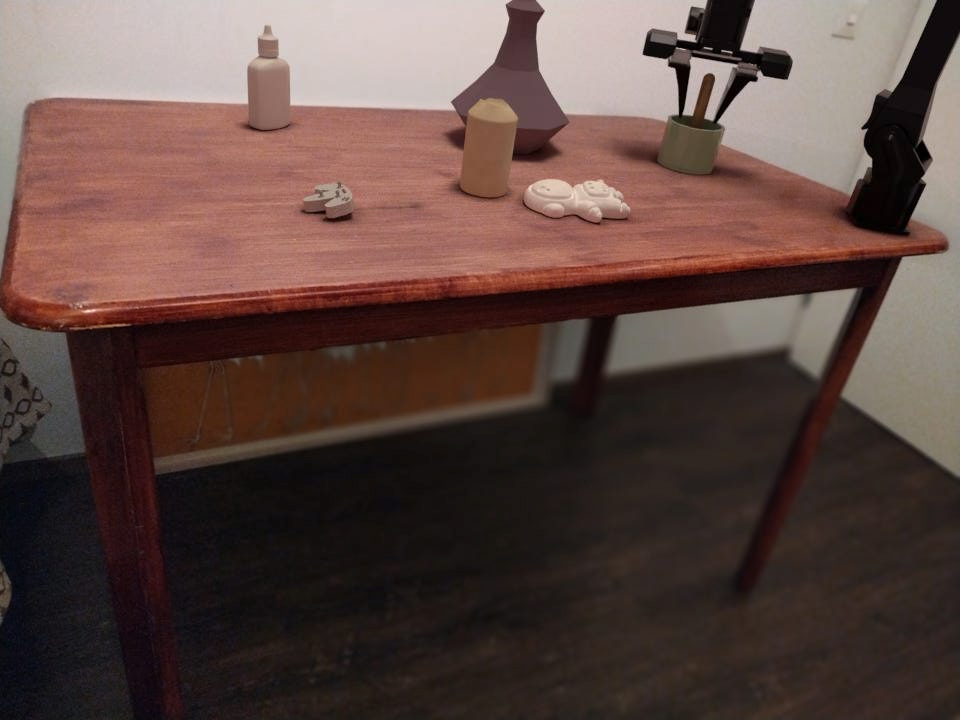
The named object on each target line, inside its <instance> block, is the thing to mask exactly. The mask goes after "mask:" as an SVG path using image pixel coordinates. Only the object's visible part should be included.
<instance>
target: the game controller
mask: <svg viewBox="0 0 960 720" xmlns="http://www.w3.org/2000/svg"><path fill="white" fill-rule="evenodd" d="M313 189H314V194H312V195H309V196H306V197H304V198H302V204H303V208H304V212H305V213H315V212H316V213H317V212H322V211H325V214H326V217H327V219H328V218H329V219H336V218H338V217H342V216H346V215H349V214H350V213H353V212H354V209H355V203H354V199H353V198H354V196H353V192H352V191H351V190H350V188H349V187H347V186H346V185H344V184H342V180H338V181H337V182H332V183H325V184H318V185H315V186H314V188H313ZM368 197H369V195H366V196H365V195H364V196H363V197H362V198H360V199H359V201H361V200H363V199H364V198H368ZM372 197H375V198H379V199H380V197H379V196H375V195H372ZM381 201H382V202H383V203H384V204H387V205H391V203H390V202H389V203H387V202H384V201H383V200H381ZM403 201H405V199H401V200H400V201H398V202H396V203H395V202H394V205H398V204H400V203H401V202H403ZM409 201H411V202H414V203H416V205H415V206H416V207H417V206H418V202H416V201H415V200H411V199H409Z"/></svg>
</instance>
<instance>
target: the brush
mask: <svg viewBox="0 0 960 720" xmlns="http://www.w3.org/2000/svg"><path fill="white" fill-rule="evenodd" d="M715 82H716V76H715V74H714V73H712V72H707V73H705V74H704V75H703V78H702V80H701V83H700V88H699V92H698V95H697V99H696V102H695V106H694V110H693V113H692V120H691V123H690V127H692V128H697V129H701V128H702V124H703V121H704V118H706V113H707V111H708V107H709V103H710V100H711V96H712V93H713V89H714V86H715Z"/></svg>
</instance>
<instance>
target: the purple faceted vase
mask: <svg viewBox="0 0 960 720" xmlns="http://www.w3.org/2000/svg"><path fill="white" fill-rule="evenodd" d="M505 8H506V13H507V16H508V22H507V27H506V31H505V34H504V36H503V39H502V42H501V44H500V47H499V49H498V52H497V54H496V56H495V59H494V62H493V63H492V64H491V65H490V66H489V67H488V68H487V69H486V70H485V71H484V72H483V73H482V74H481V75H480V76H479V77H478V78H477V79H476V80H475V81H474V82H473V83H471V84H470V85H469V86H467V87H466V88H465V89H464V90H463V91H462V92H460V93H459V94H458V95H457V96H456V97H454V98H453V99H452V100H451V101H450V103H451V105H452V106H453V108H454V110H455V111H456V114H457V115H458V117H459V118H460V120H461V122H462V123H463V125H464V126H465V127H466V126H467V117H468V111H469V110H470V109H471V108H472V107H473V106H474V105H475V104H476V103H477V102H478V101H479V100H480V99H483V100H486V99H488V98H493V99H502V100H504V101H505V102H506V103H507V104H508V105H509V106H510V108H511V109H512V110H513V111H514V113H515V114H516V116H517V117H518V122H517V128H516V135H515V141H514V148H513V154H518V155H527V154H530V153H532V152H535V151H537V150H540V149H541V147H542V146H544V145H545V144H546V143H548V142H549V141H550V140H551V139H552V138H553V137H554V136H556V135H557V134H558V133H559V132H560V131H561V130H562V129H564V128H565V127H566V126H567V125H568V124H570V120H569V118H568V117H567V115H566V114H565V113H564V111H563V109H562V108H561V106H560V104H559V103H558V101H557V100H556V99H555V97H554V95H553V94H552V92H551V90H550V88H549V86H548V83H547V82H546V81H545V78H544V77H543V75H542V73H541V71H540V64H539V55H538V54H539V52H538V43H537V34H538V32H537V31H538V23H539V21H540V20H541V19H542V17H543V15H544V14H545V12H546V10H545V9H544V8H543V7H542V5H541V4H540V3H539V2H538V1H537V0H510V1H509V2H507V3H505Z"/></svg>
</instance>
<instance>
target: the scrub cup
mask: <svg viewBox="0 0 960 720" xmlns="http://www.w3.org/2000/svg"><path fill="white" fill-rule="evenodd" d="M692 116H693V114H692V115H691V114H683V115H682V118H679V113H677V114H671V115H668V116H667V118H666V123H665V126H664V130H663V133H662V138H661V141H660V145H659V149H658V153H657V157H656V161H657V163H658V164H660V165H661V166H663V167H665V168H666V169H669V170H672V171H675V172H679V173H683V174H689V175H697V176H698V175H701V176H702V175H709V174H711V173H712V172H713V171H714V167H715V164H716V161H717V158H718V155H719V151H720V148H721V145H722V141H723V138H724V135H725V132H726V127H725V126H724V125H723V124H721V123H720V122H719V121H718V122H717V123H716V124H713V119H709V118H706V117H705V118H704V121H703V124H702V128H701V129H697V128H692V127H690V123H691V120H692Z"/></svg>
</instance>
